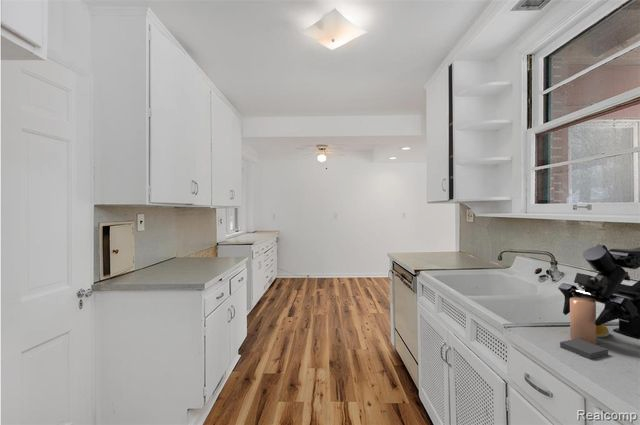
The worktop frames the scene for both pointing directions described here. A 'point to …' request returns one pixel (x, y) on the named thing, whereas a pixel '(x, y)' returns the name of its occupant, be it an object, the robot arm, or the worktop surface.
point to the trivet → (584, 348)
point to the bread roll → (602, 331)
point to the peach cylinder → (583, 319)
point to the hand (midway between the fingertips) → (579, 319)
